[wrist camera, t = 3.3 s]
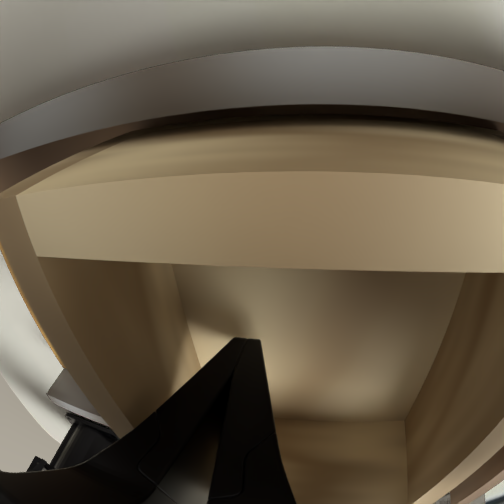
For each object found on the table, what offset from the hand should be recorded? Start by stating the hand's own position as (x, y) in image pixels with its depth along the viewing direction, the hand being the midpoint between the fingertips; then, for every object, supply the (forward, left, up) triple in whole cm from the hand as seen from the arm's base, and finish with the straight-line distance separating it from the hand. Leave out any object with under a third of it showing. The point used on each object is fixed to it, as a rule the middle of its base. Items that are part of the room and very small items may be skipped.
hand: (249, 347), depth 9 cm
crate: (+2, 0, -2) cm, 2 cm away
